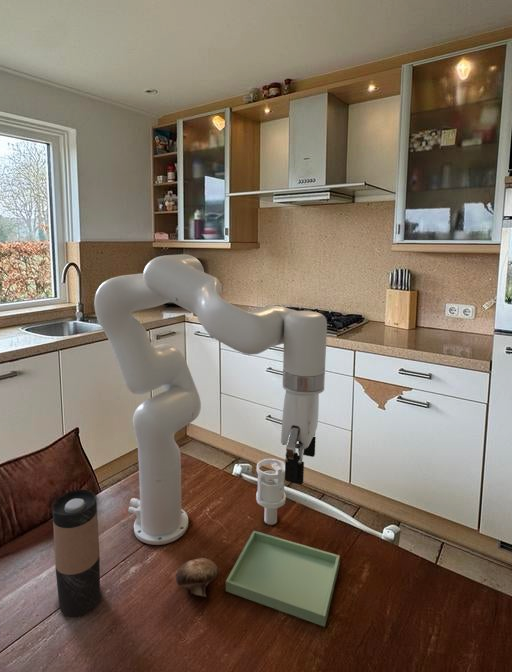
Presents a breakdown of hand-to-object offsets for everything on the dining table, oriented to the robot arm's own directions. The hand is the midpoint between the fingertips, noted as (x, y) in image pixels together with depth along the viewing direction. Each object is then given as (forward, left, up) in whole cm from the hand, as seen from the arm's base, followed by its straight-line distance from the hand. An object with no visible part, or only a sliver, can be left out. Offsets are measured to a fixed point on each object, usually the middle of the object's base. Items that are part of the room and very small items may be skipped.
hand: (300, 467), depth 79 cm
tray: (-3, +1, -25) cm, 25 cm away
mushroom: (-18, -8, -25) cm, 32 cm away
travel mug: (-37, -19, -25) cm, 49 cm away
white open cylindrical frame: (-11, +16, -25) cm, 32 cm away
